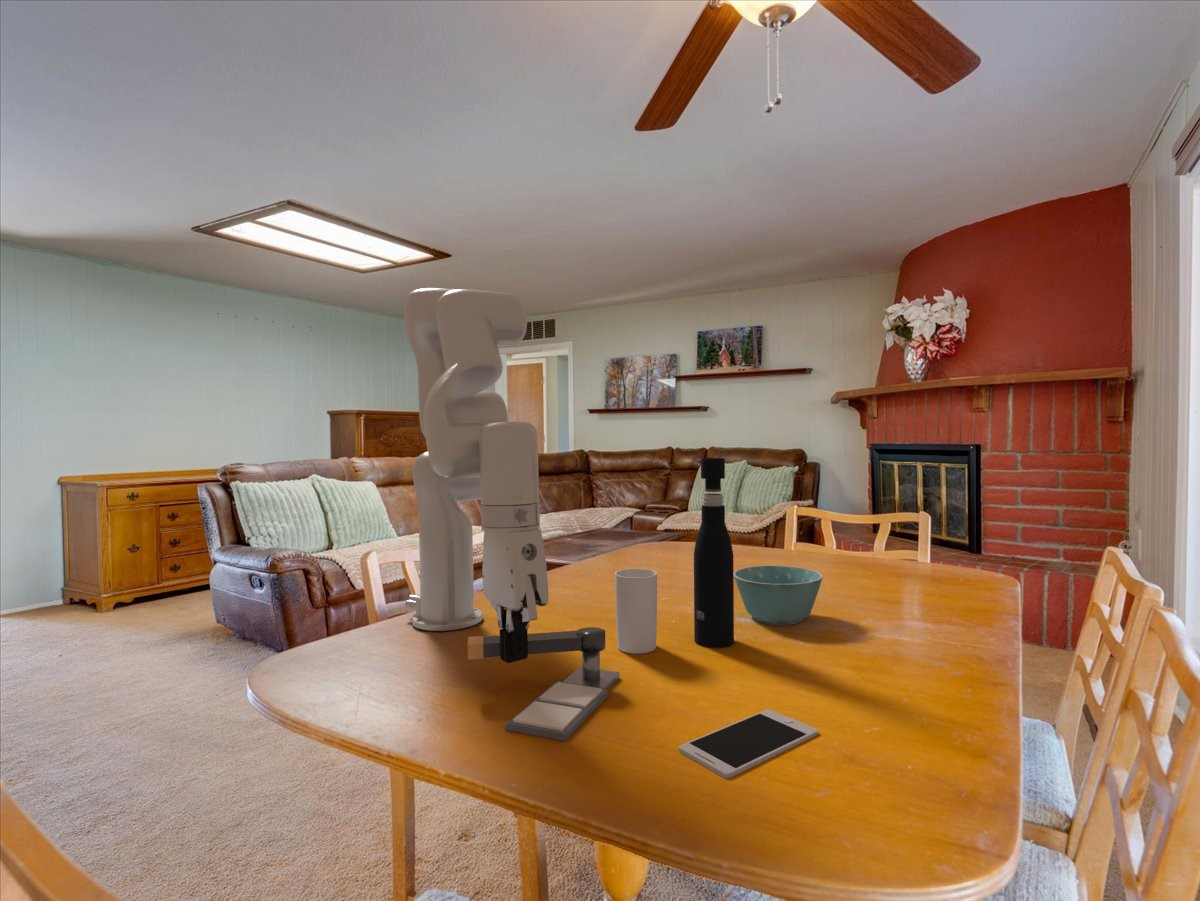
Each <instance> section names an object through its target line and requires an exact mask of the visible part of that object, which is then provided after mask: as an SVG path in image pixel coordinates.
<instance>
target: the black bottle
mask: <svg viewBox="0 0 1200 901" xmlns="http://www.w3.org/2000/svg"><path fill="white" fill-rule="evenodd" d="M725 463H726V459H725V458H724V457H703V458H701V459H700V478H701V479H703V480H704V481H705V482H704V485H705V486H704V491H705V492H707V493H703V496H702V499H703V500H702V503H703V504H702V505H701V523H700V526H699V529H698V531H697V535H696V539H695V543H694V544H695V545H694V549H693V550H694V551H693V608H694V609H693V611H694V612H693V615H694V616H693V626H694V627H693V628H694V629H693V630H694V632H693V634H694V640H693V641H694V642H695V643H696V644H697V645H699V646H701V647H705V648H713V649H714V648H715V649H719V648H726V647H730V646H732V645H733V644H734V643H735V627H734V626H735V624H734V623H735V612H734V611H735V610H734V609H735V605H734V602H735V601H734V597H735V595H734V589H735V586H734V581H735V578H734V552H733V546H732V541H731V537H730V534H729V531H728V527H727V525H726V516H725V515H726V507H725V505H724V504H723V503H724V501H723V499H724V496H723V493H720V492H721V491H722V488H721V485H722V484H721V483H722V481H721V480H722V479H723V480H724V479H725V478H726V464H725ZM718 492H719V493H718Z"/></svg>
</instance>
